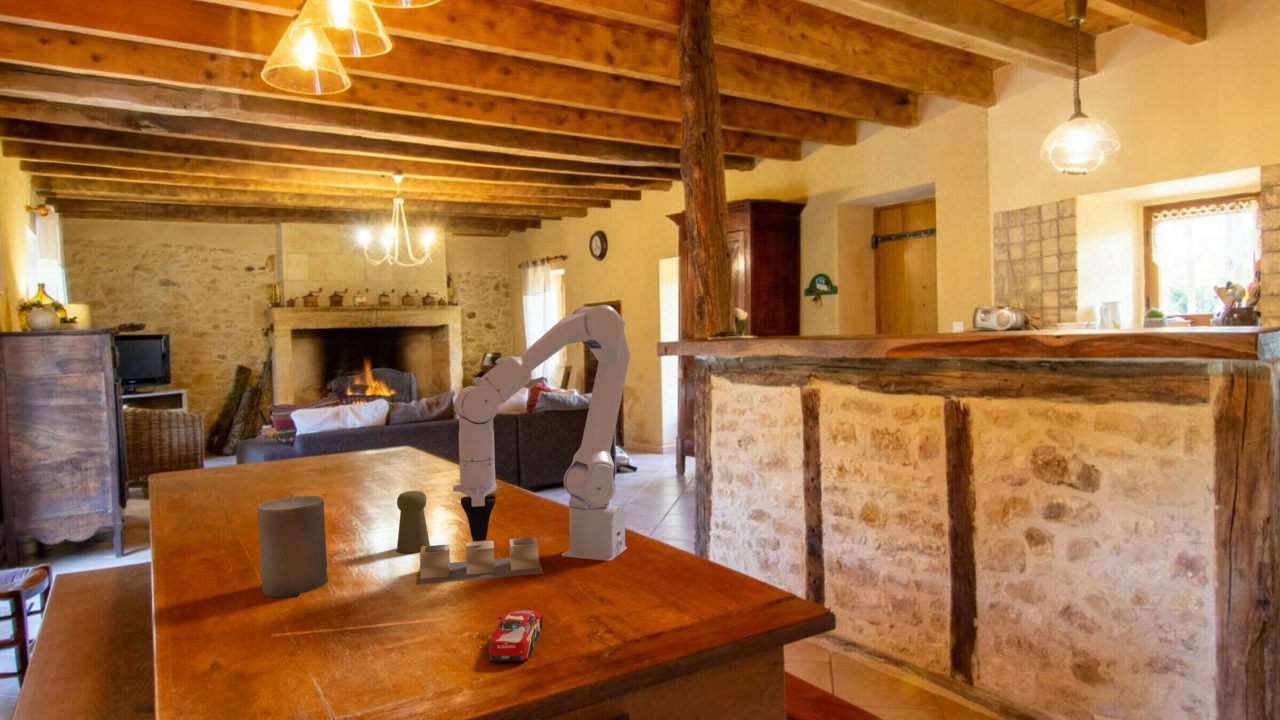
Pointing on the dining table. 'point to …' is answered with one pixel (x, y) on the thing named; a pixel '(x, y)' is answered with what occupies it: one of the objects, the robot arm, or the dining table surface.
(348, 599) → the dining table surface
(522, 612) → the race car
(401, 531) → the brown game pawn
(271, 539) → the pillar candle
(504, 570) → the mat
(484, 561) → the plain block
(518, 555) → the marked block 2
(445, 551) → the marked block 1
